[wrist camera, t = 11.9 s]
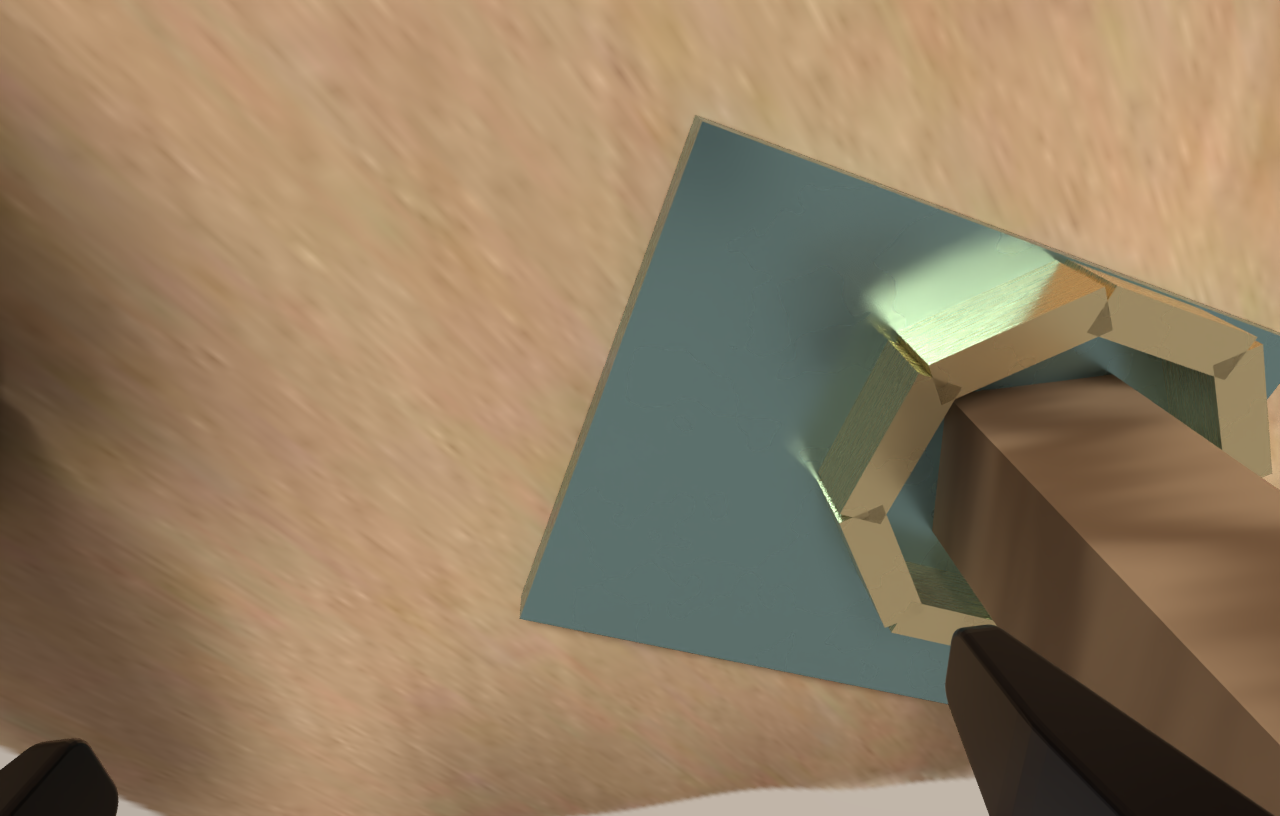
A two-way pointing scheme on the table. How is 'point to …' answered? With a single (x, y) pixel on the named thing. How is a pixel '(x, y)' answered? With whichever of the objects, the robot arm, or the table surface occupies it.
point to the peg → (1125, 561)
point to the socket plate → (836, 413)
